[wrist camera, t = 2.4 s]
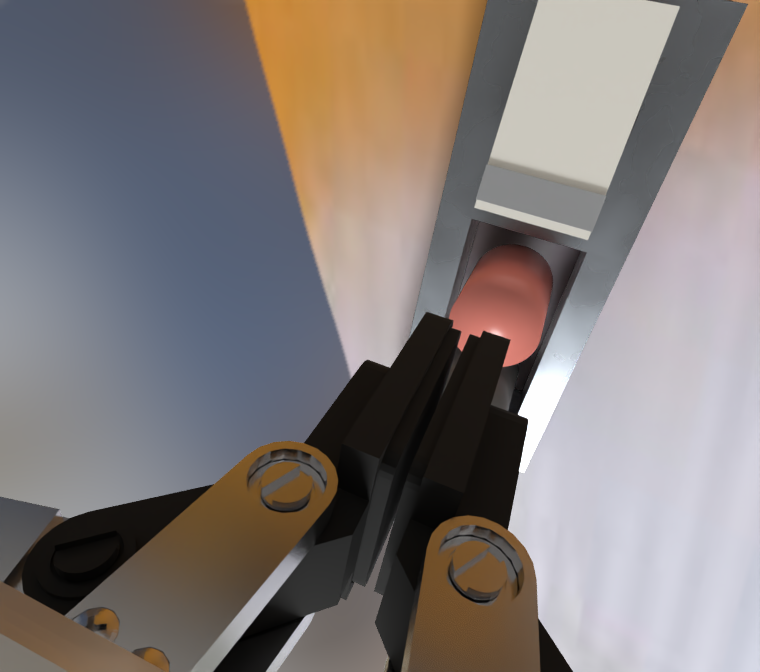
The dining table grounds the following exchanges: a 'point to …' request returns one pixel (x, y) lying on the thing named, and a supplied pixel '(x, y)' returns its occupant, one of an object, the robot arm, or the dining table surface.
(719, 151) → the dining table surface
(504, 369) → the button
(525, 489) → the dining table surface
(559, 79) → the block
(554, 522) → the dining table surface
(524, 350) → the button
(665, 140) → the panel
